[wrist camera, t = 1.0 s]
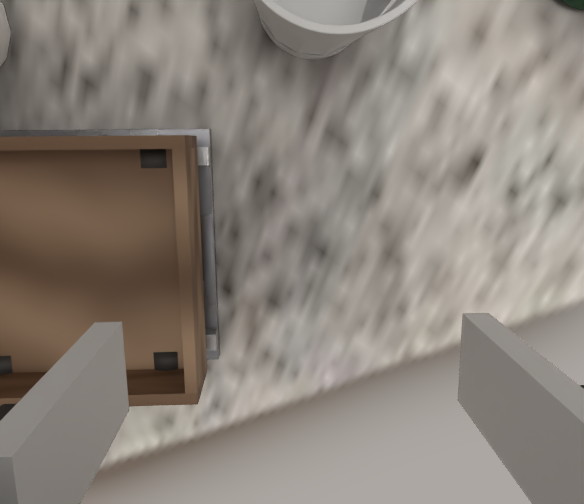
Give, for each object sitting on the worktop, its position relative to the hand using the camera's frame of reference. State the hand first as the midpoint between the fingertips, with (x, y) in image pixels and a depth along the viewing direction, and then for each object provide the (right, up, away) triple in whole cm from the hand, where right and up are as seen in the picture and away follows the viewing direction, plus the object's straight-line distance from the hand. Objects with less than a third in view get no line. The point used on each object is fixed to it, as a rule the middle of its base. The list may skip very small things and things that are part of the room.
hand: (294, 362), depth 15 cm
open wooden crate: (-12, +3, +15) cm, 19 cm away
